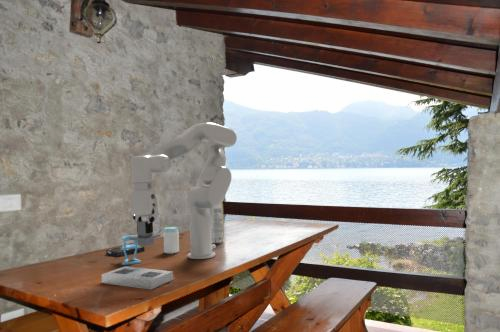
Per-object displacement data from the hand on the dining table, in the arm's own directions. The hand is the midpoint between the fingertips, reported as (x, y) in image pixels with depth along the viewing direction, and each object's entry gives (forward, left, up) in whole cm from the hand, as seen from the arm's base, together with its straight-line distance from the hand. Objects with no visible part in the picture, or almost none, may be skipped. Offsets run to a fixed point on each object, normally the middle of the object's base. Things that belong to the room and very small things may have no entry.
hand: (145, 232), depth 153 cm
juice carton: (-58, -2, -15) cm, 60 cm away
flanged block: (0, 0, -5) cm, 5 cm away
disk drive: (-22, -31, -16) cm, 41 cm away
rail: (+14, +8, -15) cm, 22 cm away
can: (-29, -9, -15) cm, 34 cm away
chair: (-8, -15, -15) cm, 23 cm away
